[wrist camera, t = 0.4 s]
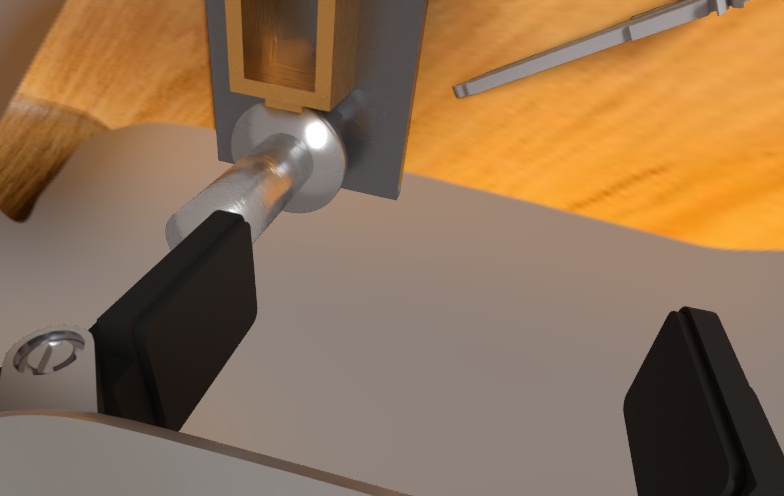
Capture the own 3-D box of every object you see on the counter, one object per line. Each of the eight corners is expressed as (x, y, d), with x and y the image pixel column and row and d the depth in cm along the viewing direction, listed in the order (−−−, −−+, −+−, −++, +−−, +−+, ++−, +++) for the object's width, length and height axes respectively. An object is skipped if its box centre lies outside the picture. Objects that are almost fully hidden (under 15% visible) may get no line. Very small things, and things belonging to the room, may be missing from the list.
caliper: (735, -32, 34) (769, -23, 29) (737, -16, 35) (772, -4, 30) (453, 85, 43) (442, 108, 38) (458, 97, 43) (448, 121, 38)
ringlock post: (209, -82, 40) (-7, -79, 24) (434, -45, 38) (360, -16, 22) (226, 163, 52) (89, 273, 36) (398, 202, 49) (333, 337, 34)
